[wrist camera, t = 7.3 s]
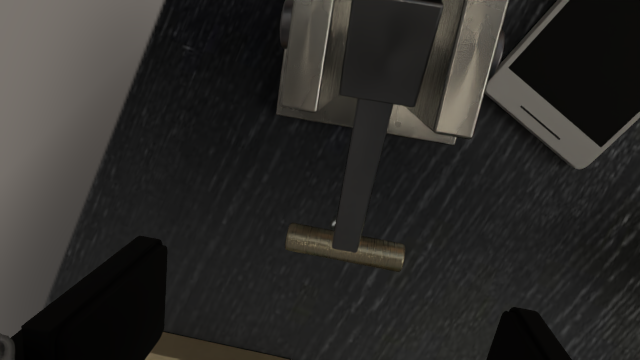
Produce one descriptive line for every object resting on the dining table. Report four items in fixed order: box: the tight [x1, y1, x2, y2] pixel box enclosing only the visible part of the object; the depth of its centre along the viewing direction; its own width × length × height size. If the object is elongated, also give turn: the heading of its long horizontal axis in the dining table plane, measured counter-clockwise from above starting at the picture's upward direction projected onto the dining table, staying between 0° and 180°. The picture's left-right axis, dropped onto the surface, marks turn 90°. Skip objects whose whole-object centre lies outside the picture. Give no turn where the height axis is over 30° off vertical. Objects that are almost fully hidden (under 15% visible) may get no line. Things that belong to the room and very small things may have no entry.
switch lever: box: [285, 0, 444, 272], centre depth 14 cm, size 11×5×2 cm, turn 171°
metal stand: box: [276, 0, 509, 145], centre depth 15 cm, size 8×10×13 cm
